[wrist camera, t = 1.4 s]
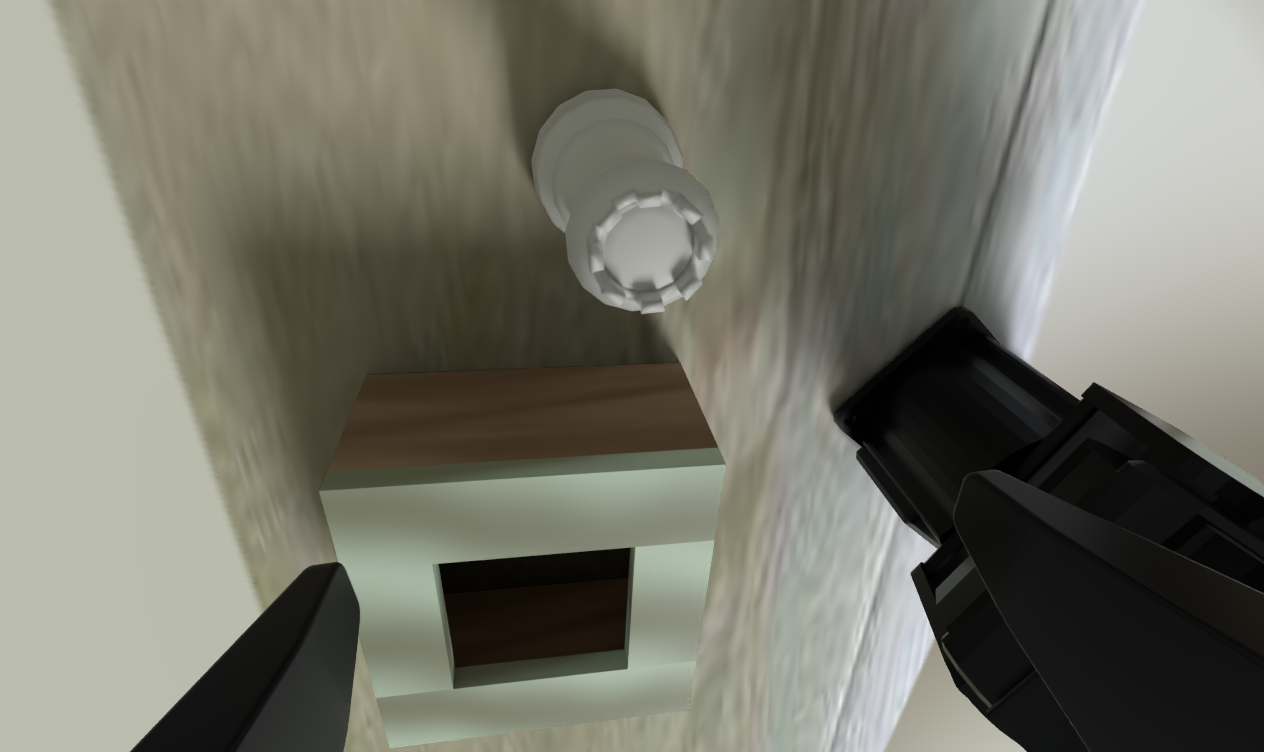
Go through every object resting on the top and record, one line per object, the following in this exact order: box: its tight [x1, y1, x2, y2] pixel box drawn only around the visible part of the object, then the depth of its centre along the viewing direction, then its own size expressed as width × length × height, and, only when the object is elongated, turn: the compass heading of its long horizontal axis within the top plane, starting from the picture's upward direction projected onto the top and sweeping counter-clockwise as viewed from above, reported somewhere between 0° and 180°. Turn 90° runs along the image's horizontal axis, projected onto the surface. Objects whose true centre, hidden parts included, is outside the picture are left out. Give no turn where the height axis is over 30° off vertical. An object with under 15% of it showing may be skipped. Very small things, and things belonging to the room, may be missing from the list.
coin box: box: [319, 363, 726, 748], centre depth 23 cm, size 12×11×6 cm
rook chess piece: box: [531, 89, 718, 314], centre depth 16 cm, size 4×4×8 cm
